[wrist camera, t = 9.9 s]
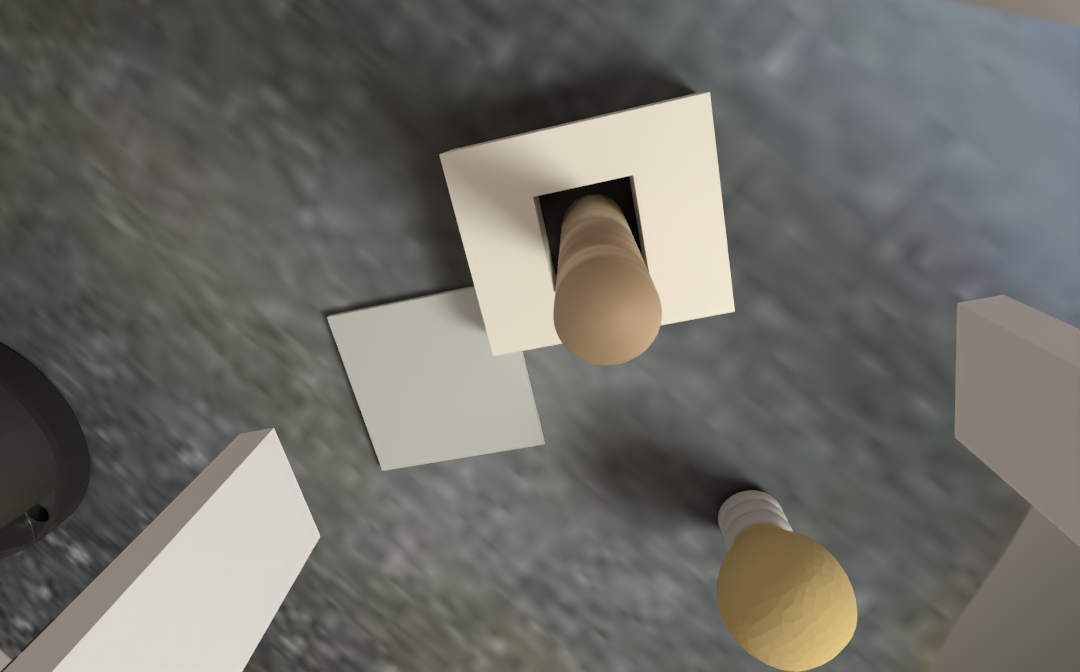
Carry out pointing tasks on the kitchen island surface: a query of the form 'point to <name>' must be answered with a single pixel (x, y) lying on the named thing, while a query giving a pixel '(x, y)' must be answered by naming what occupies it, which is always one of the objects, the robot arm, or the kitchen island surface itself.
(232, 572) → the robot arm
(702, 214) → the hole block
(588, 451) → the kitchen island surface
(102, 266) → the kitchen island surface
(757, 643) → the light bulb
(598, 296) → the dowel
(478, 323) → the mat
